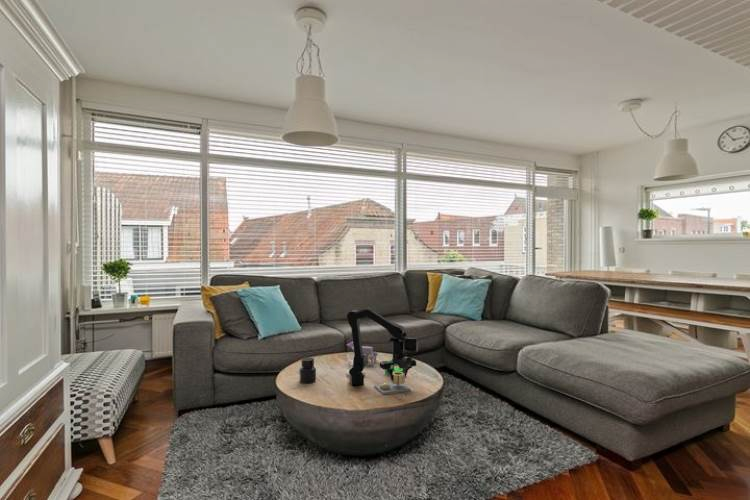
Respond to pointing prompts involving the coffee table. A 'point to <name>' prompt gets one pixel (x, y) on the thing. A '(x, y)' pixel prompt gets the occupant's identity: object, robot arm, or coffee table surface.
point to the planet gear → (398, 378)
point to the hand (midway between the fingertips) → (398, 380)
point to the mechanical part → (394, 368)
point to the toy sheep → (366, 352)
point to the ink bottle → (307, 370)
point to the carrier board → (391, 388)
